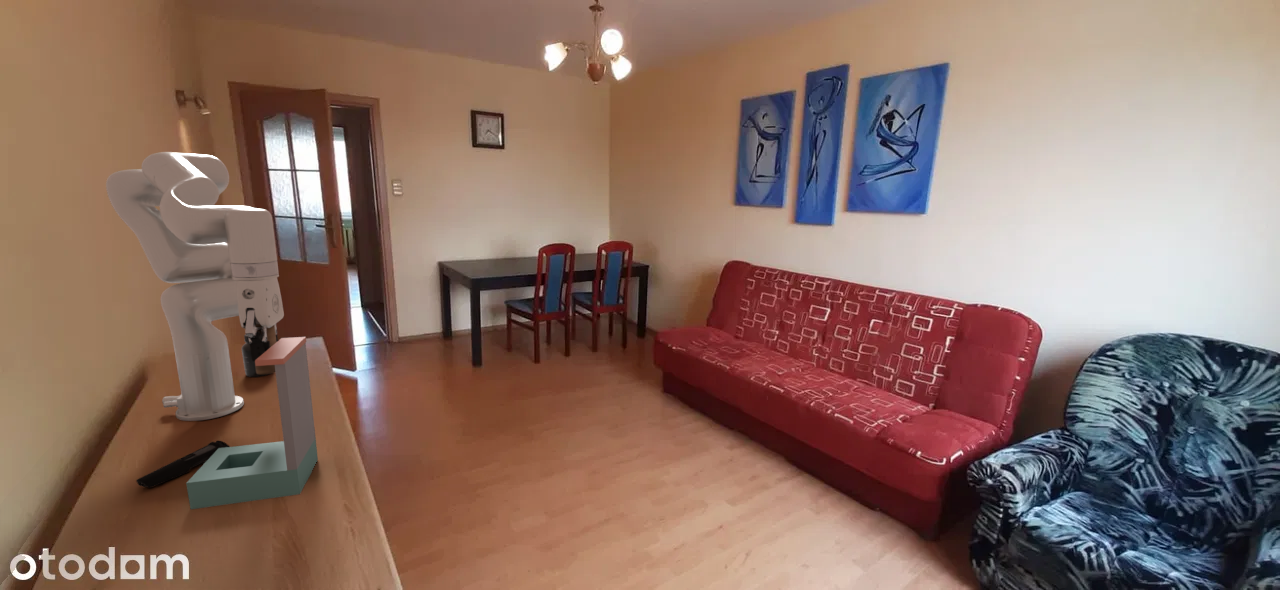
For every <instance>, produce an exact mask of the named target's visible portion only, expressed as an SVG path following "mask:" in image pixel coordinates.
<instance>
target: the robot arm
mask: <svg viewBox="0 0 1280 590" xmlns="http://www.w3.org/2000/svg"><path fill="white" fill-rule="evenodd" d="M229 183H230V174H229V171H228V168H227V166H226V165H225V164H224V162H223V161H222V160H221V159H219V158H218V157H216V156H214V155H212V154H211V155H210V154H202V153H189V152H175V151H174V152H172V151H161V152H156V153H151V154H149V155H148V156H146V157H145V158H144V159H143V161H142V163H141V168H139V169H137V168H136V169H135V168H134V169H123V170H119V171H115V172H113V173H111V174H110V175H109V176H108V177H107V179H106V182H105V189H106V192H107V193H106V194H107V197H108V200H109V202H110V204H111V206H112V208H113V210H114V212H115V213H116V214H117V215H118V217H119V218H120V219H121V220H122V222H123V223H125V224H126V226H127V227H128V228H129V229H130V230H131V231H132V232H133V233H134V235H135V236H136V238H137V240H138V242H139V244H140V246H141V248H142V250H143V253H144V254H145V256H146V258H147V261H148V262H149V264H150V267H151V269H152V270H153V272H154V274H155V275H156V277H157V278H158V279H159V280H160V281H162V282H163V283H168V284H174V285H170V286H169V287H167V288H166V289H165V290H163V291H162V293H161V295H160V306H161V308H162V311H163V313H164V316H165V319H166V321H167V324H168V327H169V330H170V334H171V338H172V345H173V350H174V354H175V361H176V369H177V374H178V380H179V386H180V393H181V394H179V395H169V396H164V397H162V401H161V402H162V405H163V408H173V407H176V408H177V410H176V411H175V417H176V418H177V419H178V420H180V421H184V422H196V421H197V422H198V421H206V420H207V421H208V420H211V419H216V418H219V417H223V416H226V415H229V414H233V413H234V412H236V411H239V410H240V409H241V408H243V406H244V404H245V400H244V398H243V397H242V396H240V395H239V396H238V395H235V394H236V393H235V387H234V381H233V380H234V379H233V374H232V364H231V358H230V357H231V356H230V350H229V343H228V339H227V336H226V335H225V333H224V331H222V330H221V329H219V328H217V327H216V326H215V325H213V324H212V322H213V321H218V320H222V319H228V318H232V317H239V324H240V326H241V328H242V329H244V331H245V332H244V333H245V334H246V335H247V336H248V337H249V343H250V349H251V356H252V361H255V360H256V359H257V358H258V357H260V356H261V355H262V354H263V353H264V352H266V351H267V350H268V349H269V348H270V341H267V328H270V327H272V326H273V325H274V326H275V334H276V342H277V341H279V338H278V328H277V323H279V322H280V321H281V320H282V319H284V316H285V313H284V306H283V304H284V303H283V300H282V295H281V289H280V283H279V281H278V278H279V277H280V275H279V266H278V265H279V264H278V257H277V255H278V254H277V248H276V239H275V230H274V222H273V216H272V214H271V212H270V210H267V209H264V208H257V207H252V206H249V205H215V204H216V203H217V202H218V200H219V198H220V197H219V196H220V195H221V194H222V193H224V191H225V190H226V189H228V188H227V187H228V185H229ZM156 207H159V209H158V208H156ZM256 324H260V325H261V326H262V327H256ZM257 330H262V334H261V333H260V332H257ZM245 334H244V335H245Z"/></svg>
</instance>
